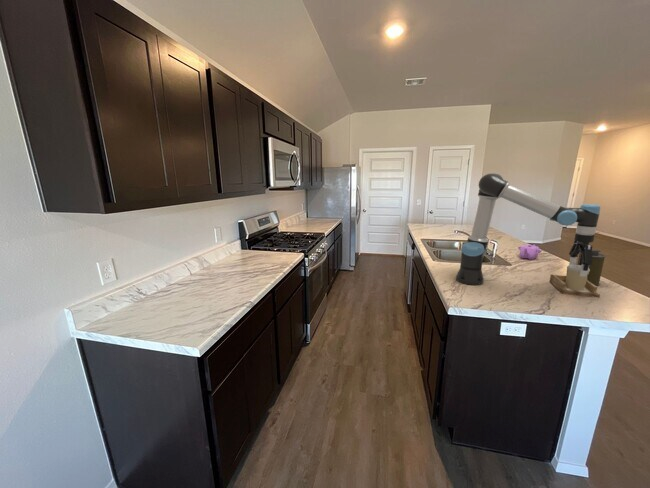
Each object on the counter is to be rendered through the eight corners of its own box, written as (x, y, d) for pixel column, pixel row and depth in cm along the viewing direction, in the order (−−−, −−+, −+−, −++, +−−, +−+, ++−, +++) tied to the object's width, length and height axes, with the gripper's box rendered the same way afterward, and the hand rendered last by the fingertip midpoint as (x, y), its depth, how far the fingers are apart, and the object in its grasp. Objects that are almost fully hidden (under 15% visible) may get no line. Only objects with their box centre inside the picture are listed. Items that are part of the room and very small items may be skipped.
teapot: (543, 261, 206) (545, 247, 203) (522, 260, 209) (524, 246, 206) (533, 256, 220) (535, 242, 218) (514, 255, 223) (516, 242, 221)
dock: (561, 293, 150) (562, 284, 148) (549, 282, 166) (550, 274, 165) (599, 297, 144) (601, 288, 143) (583, 285, 160) (584, 277, 159)
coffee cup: (590, 291, 147) (594, 270, 145) (570, 290, 149) (574, 269, 147) (578, 285, 156) (582, 264, 154) (559, 284, 158) (563, 264, 155)
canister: (594, 280, 166) (601, 248, 162) (602, 286, 157) (610, 252, 153) (571, 278, 171) (577, 247, 166) (578, 284, 162) (584, 251, 157)
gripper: (607, 239, 133) (597, 280, 138) (582, 230, 156) (575, 266, 161) (587, 238, 136) (578, 278, 141) (566, 229, 158) (559, 264, 163)
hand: (577, 272), depth 151 cm, fingers open, 13 cm apart
